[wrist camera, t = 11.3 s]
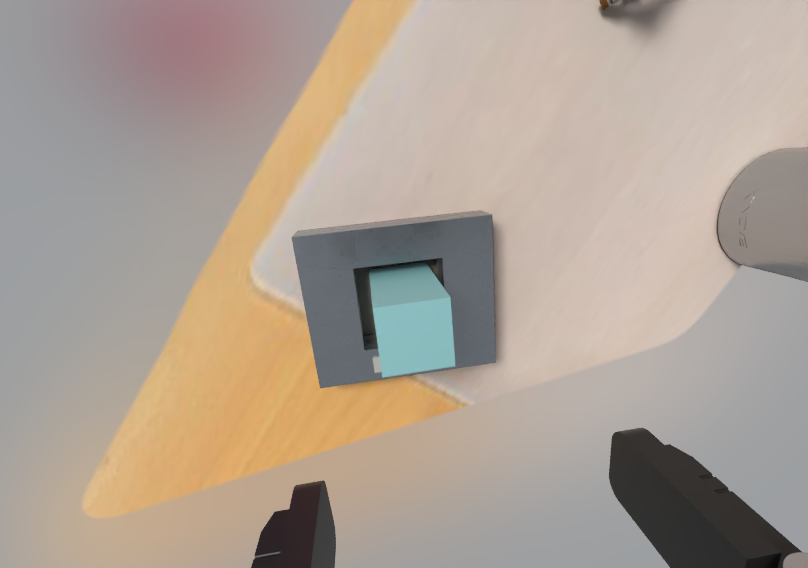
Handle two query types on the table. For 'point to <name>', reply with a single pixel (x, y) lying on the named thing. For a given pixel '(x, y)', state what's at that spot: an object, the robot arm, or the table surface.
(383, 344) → the teal peg
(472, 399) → the table surface
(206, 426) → the table surface
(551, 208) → the table surface
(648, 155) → the table surface
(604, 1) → the brown piece
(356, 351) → the rail plate
